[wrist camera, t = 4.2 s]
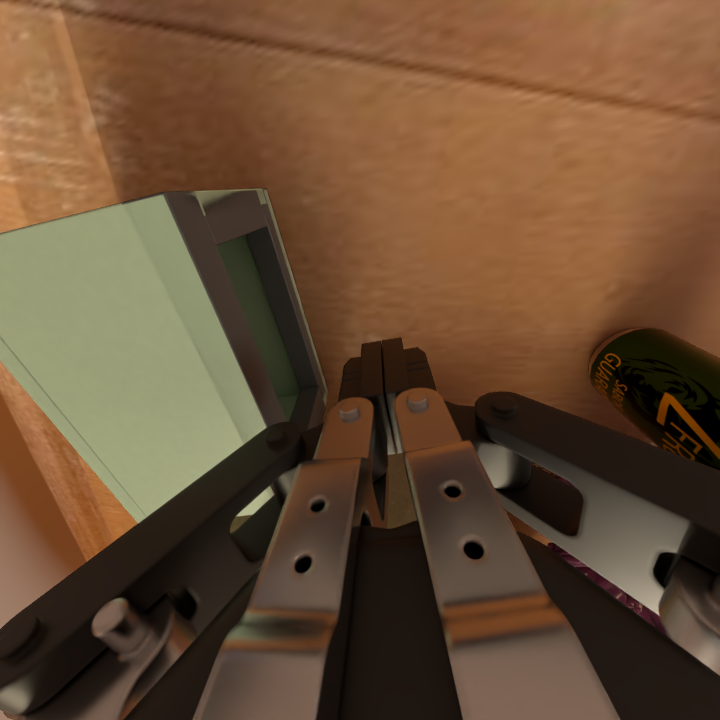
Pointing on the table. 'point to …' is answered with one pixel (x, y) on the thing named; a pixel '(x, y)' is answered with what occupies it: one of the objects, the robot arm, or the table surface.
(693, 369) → the beer can
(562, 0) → the table surface
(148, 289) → the pale green open box
